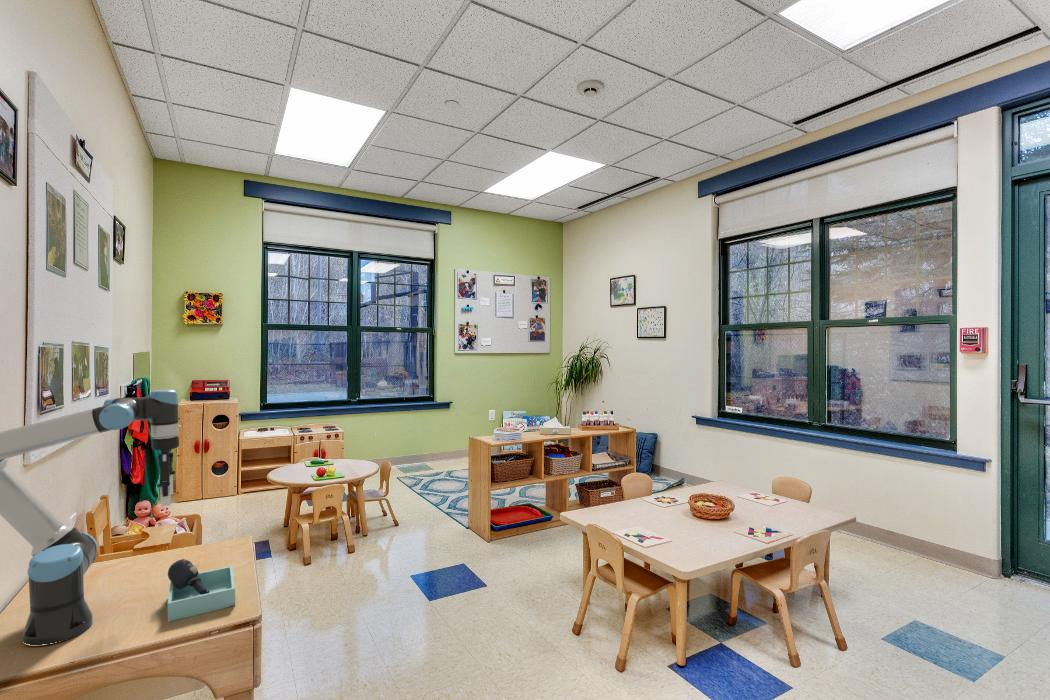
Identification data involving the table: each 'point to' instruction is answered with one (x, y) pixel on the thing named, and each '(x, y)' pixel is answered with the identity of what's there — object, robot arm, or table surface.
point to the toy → (185, 576)
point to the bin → (194, 603)
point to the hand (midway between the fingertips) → (167, 500)
